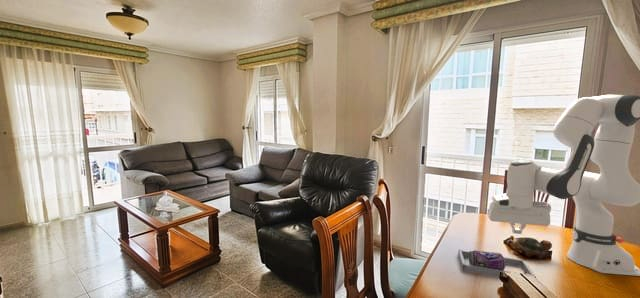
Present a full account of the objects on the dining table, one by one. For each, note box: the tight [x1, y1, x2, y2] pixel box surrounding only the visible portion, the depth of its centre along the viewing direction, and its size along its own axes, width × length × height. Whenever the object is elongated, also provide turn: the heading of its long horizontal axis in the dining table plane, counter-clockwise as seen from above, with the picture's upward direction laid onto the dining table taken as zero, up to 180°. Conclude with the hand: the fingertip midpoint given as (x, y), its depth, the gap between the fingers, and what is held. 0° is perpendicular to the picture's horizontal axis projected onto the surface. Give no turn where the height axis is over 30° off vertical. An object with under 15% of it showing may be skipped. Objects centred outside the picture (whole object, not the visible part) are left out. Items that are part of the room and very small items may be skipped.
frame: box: [457, 249, 537, 279], centre depth 113 cm, size 25×13×2 cm, turn 70°
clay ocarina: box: [510, 237, 553, 260], centre depth 123 cm, size 10×15×8 cm, turn 73°
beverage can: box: [468, 249, 506, 271], centre depth 112 cm, size 7×7×12 cm
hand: (516, 233), depth 109 cm, fingers closed
